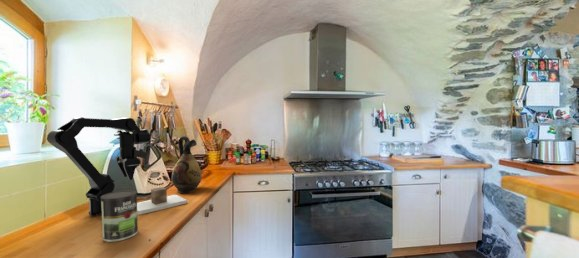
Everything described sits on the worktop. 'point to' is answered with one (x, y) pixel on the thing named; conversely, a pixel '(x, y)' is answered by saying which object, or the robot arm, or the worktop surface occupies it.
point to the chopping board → (150, 207)
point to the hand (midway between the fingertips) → (128, 178)
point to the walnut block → (159, 195)
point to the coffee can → (119, 215)
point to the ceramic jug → (186, 168)
